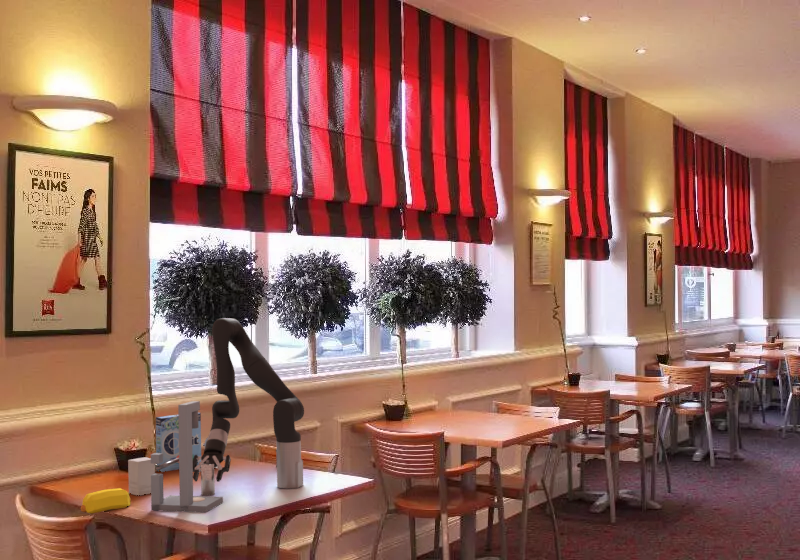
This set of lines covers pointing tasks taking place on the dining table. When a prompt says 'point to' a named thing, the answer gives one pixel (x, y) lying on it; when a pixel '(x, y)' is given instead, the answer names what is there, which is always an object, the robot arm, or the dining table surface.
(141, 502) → the dining table surface
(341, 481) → the dining table surface
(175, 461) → the lever
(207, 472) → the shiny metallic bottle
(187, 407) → the press
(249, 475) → the dining table surface
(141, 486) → the supplement box
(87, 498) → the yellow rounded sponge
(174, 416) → the blue cereal box
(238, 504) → the dining table surface
